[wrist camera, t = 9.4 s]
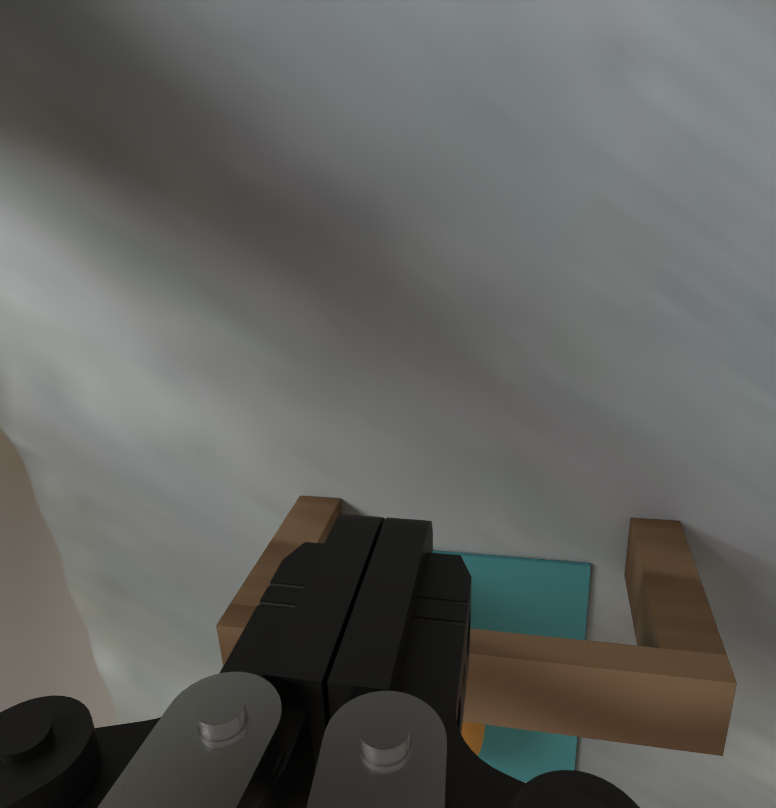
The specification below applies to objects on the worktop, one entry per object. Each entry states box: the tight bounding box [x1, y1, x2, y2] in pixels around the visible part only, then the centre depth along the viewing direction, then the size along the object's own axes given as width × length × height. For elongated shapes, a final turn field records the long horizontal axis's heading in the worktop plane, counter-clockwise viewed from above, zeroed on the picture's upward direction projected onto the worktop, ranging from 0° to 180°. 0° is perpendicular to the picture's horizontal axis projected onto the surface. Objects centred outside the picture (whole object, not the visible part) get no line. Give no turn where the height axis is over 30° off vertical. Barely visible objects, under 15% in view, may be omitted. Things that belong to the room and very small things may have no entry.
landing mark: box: [433, 551, 591, 782], centre depth 34 cm, size 10×14×1 cm
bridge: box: [216, 496, 737, 756], centre depth 27 cm, size 3×17×9 cm, turn 93°
